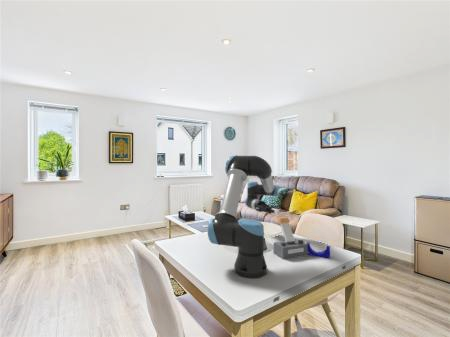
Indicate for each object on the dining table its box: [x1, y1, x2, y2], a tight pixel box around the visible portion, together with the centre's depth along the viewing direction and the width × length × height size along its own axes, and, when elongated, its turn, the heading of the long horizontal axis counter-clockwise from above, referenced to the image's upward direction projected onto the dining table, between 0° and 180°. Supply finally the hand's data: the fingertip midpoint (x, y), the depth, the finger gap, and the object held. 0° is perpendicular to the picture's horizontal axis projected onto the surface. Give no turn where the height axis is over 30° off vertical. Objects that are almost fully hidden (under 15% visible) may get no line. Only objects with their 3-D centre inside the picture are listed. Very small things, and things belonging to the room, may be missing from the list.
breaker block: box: [272, 239, 309, 260], centre depth 133 cm, size 16×9×8 cm, turn 111°
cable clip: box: [305, 242, 331, 260], centre depth 132 cm, size 12×4×6 cm, turn 61°
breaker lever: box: [277, 217, 296, 244], centre depth 136 cm, size 6×3×14 cm
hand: (278, 212), depth 145 cm, fingers closed
